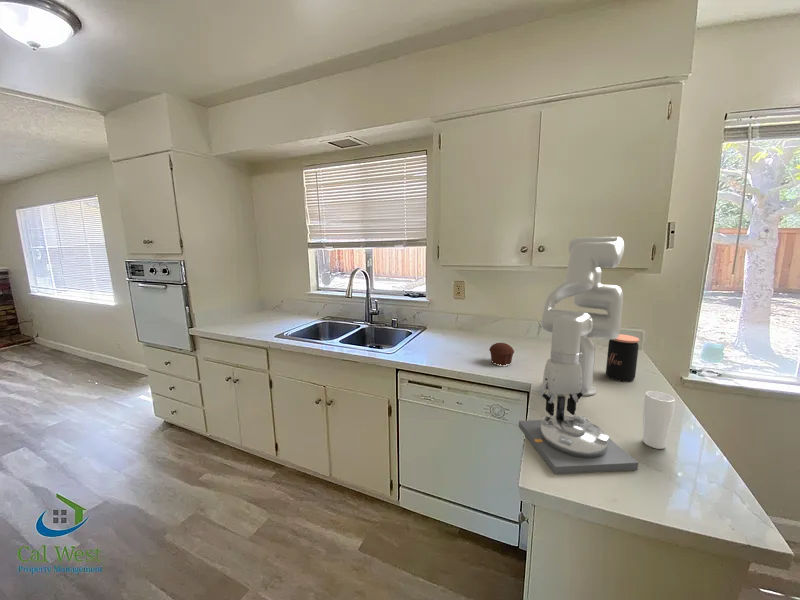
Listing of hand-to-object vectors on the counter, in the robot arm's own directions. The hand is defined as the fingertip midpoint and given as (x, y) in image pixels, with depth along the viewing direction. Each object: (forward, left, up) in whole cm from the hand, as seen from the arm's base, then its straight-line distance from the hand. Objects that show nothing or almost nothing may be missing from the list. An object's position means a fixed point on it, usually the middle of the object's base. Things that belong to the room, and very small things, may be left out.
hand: (560, 412), depth 101 cm
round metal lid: (+7, 0, -4) cm, 8 cm away
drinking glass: (+8, +24, -7) cm, 26 cm away
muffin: (-60, +4, -7) cm, 61 cm away
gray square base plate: (+7, 0, -7) cm, 10 cm away
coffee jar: (-39, +49, -7) cm, 63 cm away
